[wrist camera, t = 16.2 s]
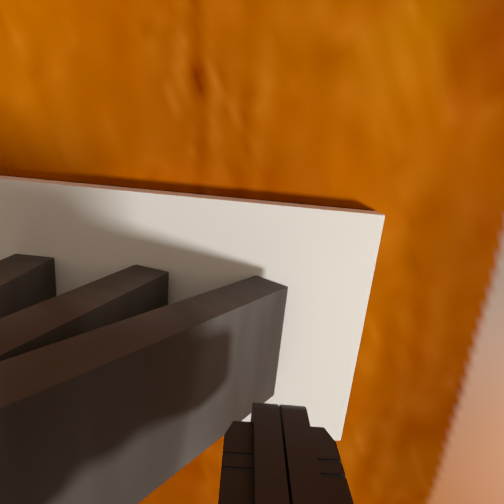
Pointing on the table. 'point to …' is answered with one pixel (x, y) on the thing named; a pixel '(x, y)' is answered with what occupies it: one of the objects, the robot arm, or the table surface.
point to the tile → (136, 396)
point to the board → (217, 264)
